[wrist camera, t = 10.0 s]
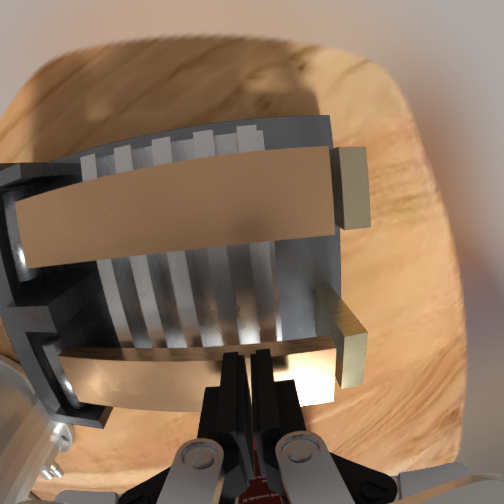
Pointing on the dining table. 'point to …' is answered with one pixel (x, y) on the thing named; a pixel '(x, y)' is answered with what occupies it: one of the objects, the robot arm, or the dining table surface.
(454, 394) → the dining table surface
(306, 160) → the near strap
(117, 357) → the strap
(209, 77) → the dining table surface
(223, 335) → the heatsink block
